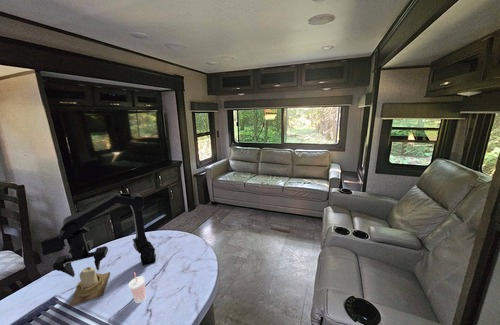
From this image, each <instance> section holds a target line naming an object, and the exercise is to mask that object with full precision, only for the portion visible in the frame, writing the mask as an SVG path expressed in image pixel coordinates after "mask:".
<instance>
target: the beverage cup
mask: <svg viewBox="0 0 500 325" xmlns="http://www.w3.org/2000/svg"><path fill="white" fill-rule="evenodd" d="M133 274H134V278H133V279H131V280H130V281H129V283H128V288H129V289H130V291H131V295H132V297H133V300H134V302H135V303H136V304H141V303H142V302H144V301H145V300H146V298H147V292H146V291H147V290H146V284H145V282H146V279H145V276H141V275H140V276H137V273H136V272H135V271H134V272H133Z"/></svg>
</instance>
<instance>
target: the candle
mask: <svg viewBox="0 0 500 325" xmlns="http://www.w3.org/2000/svg"><path fill="white" fill-rule="evenodd" d="M79 279H80V281H81V282H82V285H83V289H87V288H90V287H92V286H93V285H95V284H96V283H97V282H98V279H97V276H96V269H95V267H90V266H89V267H86V268H83V269H82V270H81V272H80V273H79Z"/></svg>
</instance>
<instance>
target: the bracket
mask: <svg viewBox="0 0 500 325" xmlns="http://www.w3.org/2000/svg"><path fill="white" fill-rule="evenodd" d="M96 276H97V279H98V282H97V283H96V284H95V285H93V286H92V287H90V288H87V289H83V285H82V282H81V280H80V281H79V282H78V283H77V285H76V287H75V291H74V293H73V296H72V298H71V300H70V302H69V304H68V306H69V307H72V306H76V305H81V304H82V303H85V302H89V301H92V300H96V299H98V298H101V297H104V294H105V290H106V288H107V285H108V282H109V278H110V276H111V272H109V271H108V272H106V273H96Z"/></svg>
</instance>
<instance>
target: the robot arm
mask: <svg viewBox="0 0 500 325" xmlns="http://www.w3.org/2000/svg"><path fill="white" fill-rule="evenodd" d="M117 204H119V205H126V206H129V207H130V209H131V211H132V216H133V221H134V230H135V238H132V242H133V245H132V247H133V248H134V249H135V251H136V252H137V253H138V254H139V255H140V256H139V258H140V261H141V262H140V263H141V265H142V266H146V265H151V264H153V263H156V261H157V254H156V253H155V252H156V247H154V245H153V244H152V243H151V241H149V240H148V238H147V235H146V230H145V224H144V222H145V221H144V214H143V209H144V207H145V206H144V205H145V199H144V197H143V196H142V195H140V194H139V193H138V192H132V193H127V192H126V193H125V192H123V193H119V192H115V193H113V194H112V195H110V196H108V197H106V198H105V199H103V200H100V202H97V203H96V204H93V205H92V206H90V207H88V208H87V209H86V210H83V211H80V212H75V213H72V214H71V215H68V216H67V217H64V219H63V220H62V227H61V229H60V230H59V232H58V234H56V235H53V236H50V237H47V238H42V239H41V240H40V244H41V252H42V255H43V257H46V256H49V255H52V254H54V253H58V252H60V251H61V252H62V251H63V250H64V249H65V247H67V245H68V249H69V250H68V254H66V255H65V254H64V255H62V256H58V257H57V258H56V259H55V260H54V261H53V263H52V265H51V269H52V271H54V272H55V271H57V272H62V273H64V274H66V275H68V276H70V277H72V278H75V275H76V274H75V271H74V268H73V265H72V263H74V262H78V261H83V260H86V259H90V258H93V259H94V260H93V262H94V264H95V265H94V266H95V268H96V269H95V270H96V271H99V270H100V265H101V261H102V260H103V259H105V258H106V256H107V254H108V252H109V248H108V246H107V245H106V246H105V245H104V246H100V247H97V248H96V249H95V251H91V250H92V248H93V247H94V243H93V242H94V241H93V240H92V239H91V240H86V237H85V233H88V232H89V227H87V226H86V225H87V223H89V222H90V221H91V220H92V219H93V218H96V217H97V216H98V215H100V214H102V213H104V212H105V211H107V210H108V209H110V208H112V207H113V206H115V205H117ZM66 242H67V243H66ZM69 254H70V255H71V257H70V255H69Z"/></svg>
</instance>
